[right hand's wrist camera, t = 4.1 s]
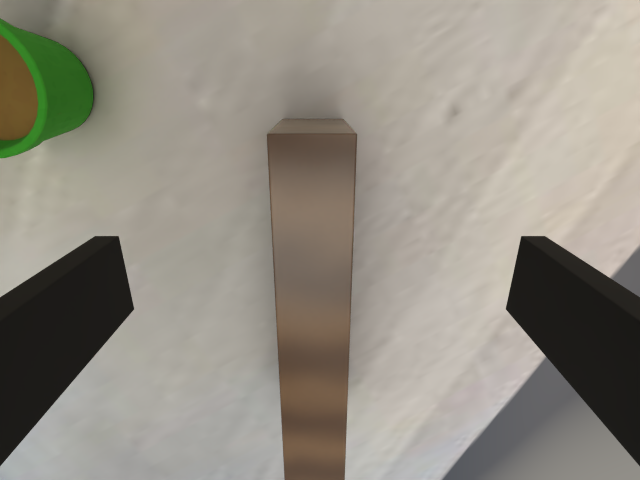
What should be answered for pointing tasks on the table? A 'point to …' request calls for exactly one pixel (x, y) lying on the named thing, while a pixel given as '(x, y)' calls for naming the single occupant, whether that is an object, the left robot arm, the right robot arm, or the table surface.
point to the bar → (313, 288)
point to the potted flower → (38, 90)
